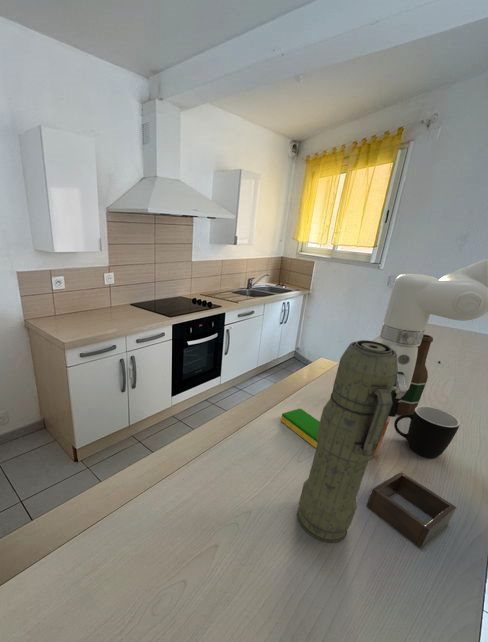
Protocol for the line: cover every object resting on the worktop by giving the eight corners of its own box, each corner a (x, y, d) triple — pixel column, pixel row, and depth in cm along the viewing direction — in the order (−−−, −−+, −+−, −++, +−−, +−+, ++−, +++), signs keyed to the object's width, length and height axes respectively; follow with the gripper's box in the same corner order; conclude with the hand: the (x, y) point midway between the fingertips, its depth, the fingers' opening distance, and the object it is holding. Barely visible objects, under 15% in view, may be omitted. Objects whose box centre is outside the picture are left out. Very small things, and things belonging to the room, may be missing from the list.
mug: (442, 446, 82) (457, 413, 78) (446, 467, 75) (463, 431, 71) (388, 430, 88) (400, 398, 84) (388, 448, 81) (400, 414, 77)
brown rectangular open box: (447, 524, 60) (456, 507, 59) (420, 548, 56) (429, 530, 54) (394, 487, 68) (400, 471, 67) (366, 505, 63) (372, 488, 62)
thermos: (325, 493, 66) (372, 331, 52) (363, 547, 55) (434, 362, 42) (284, 497, 64) (322, 332, 51) (316, 554, 54) (374, 363, 40)
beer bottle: (390, 400, 103) (415, 329, 94) (417, 411, 98) (446, 337, 89) (380, 407, 99) (405, 334, 89) (408, 420, 93) (438, 342, 84)
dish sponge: (319, 451, 78) (321, 443, 77) (279, 420, 89) (281, 413, 88) (339, 443, 81) (341, 436, 80) (298, 415, 92) (300, 407, 91)
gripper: (439, 351, 60) (412, 428, 66) (406, 324, 75) (386, 389, 82) (394, 346, 61) (372, 421, 68) (371, 321, 77) (354, 384, 83)
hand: (380, 404), depth 75 cm, fingers open, 9 cm apart
